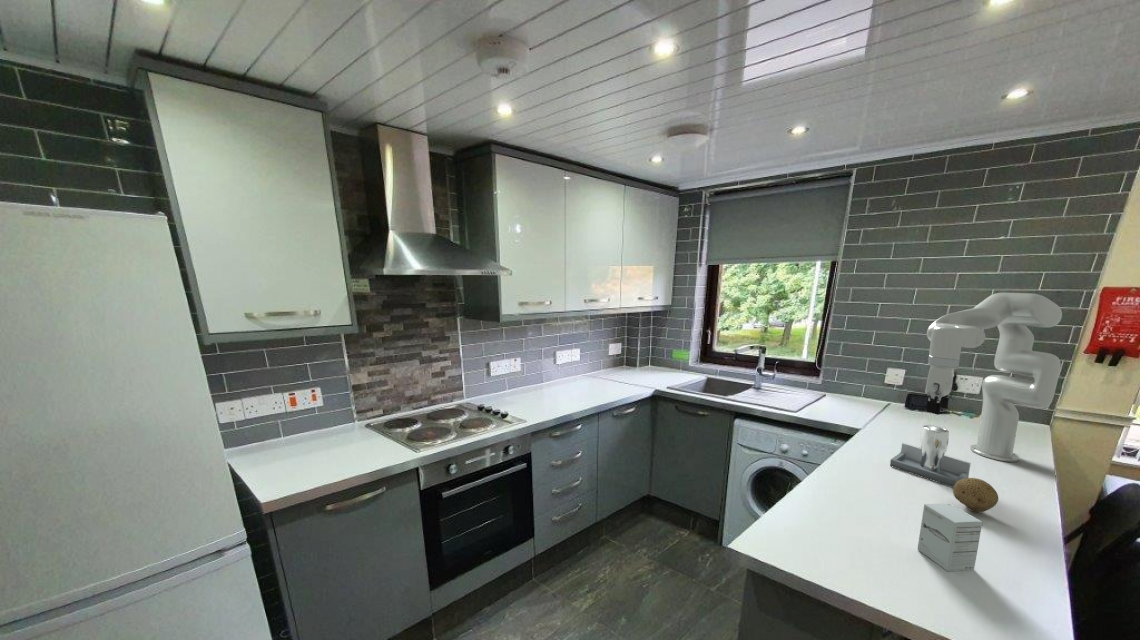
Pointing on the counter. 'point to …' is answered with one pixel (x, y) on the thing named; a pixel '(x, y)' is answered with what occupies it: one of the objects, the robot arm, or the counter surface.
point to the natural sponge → (975, 494)
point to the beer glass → (933, 447)
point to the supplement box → (949, 536)
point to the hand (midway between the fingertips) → (937, 410)
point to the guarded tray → (949, 476)
